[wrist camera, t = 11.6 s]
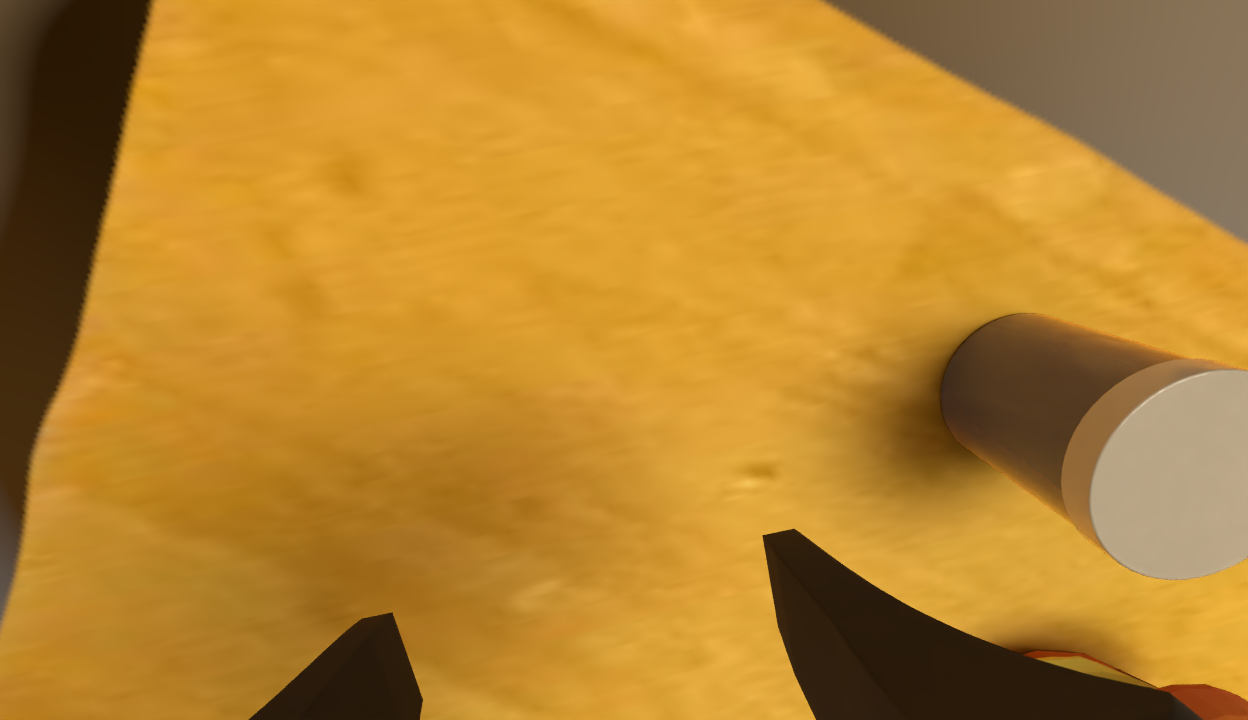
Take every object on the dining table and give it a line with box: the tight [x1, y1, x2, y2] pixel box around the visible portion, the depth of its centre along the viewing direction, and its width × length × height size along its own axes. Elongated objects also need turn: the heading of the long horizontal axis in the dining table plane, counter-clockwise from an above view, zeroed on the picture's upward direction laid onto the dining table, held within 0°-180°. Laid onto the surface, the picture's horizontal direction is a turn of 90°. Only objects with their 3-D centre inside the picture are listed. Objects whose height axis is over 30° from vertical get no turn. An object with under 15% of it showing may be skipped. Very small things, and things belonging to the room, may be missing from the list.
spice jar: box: [941, 313, 1248, 580], centre depth 18 cm, size 5×5×7 cm
